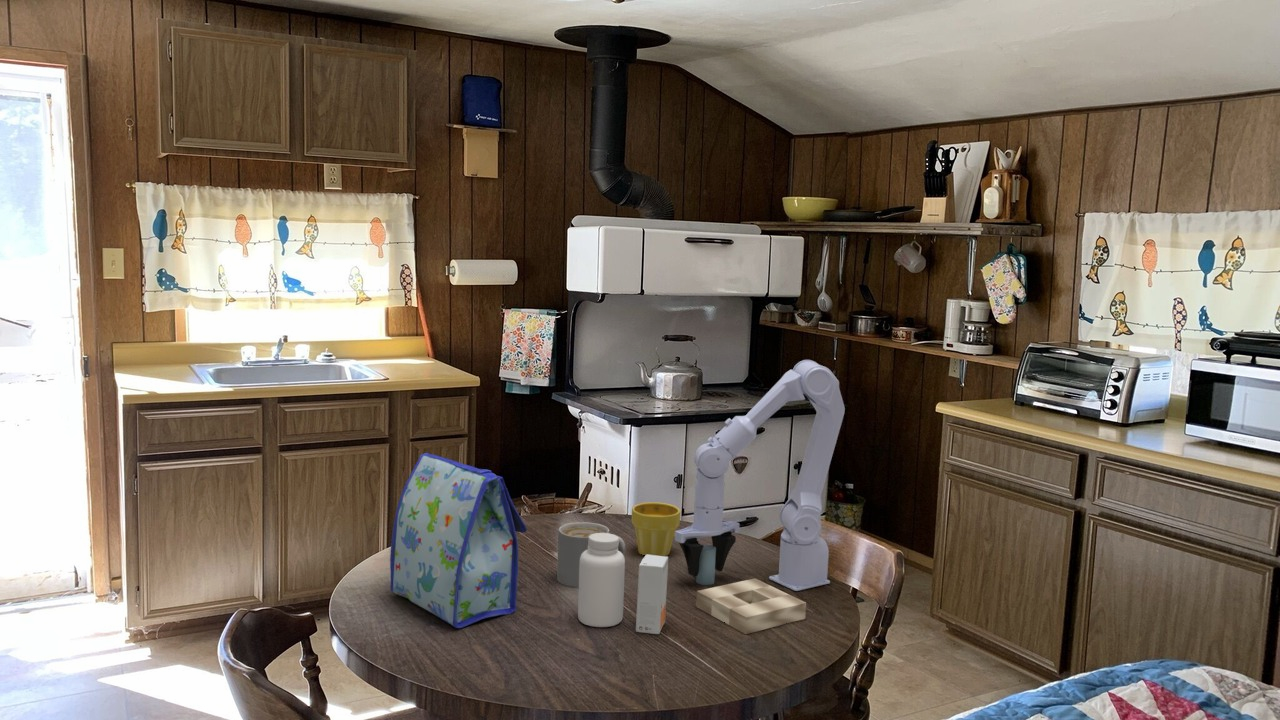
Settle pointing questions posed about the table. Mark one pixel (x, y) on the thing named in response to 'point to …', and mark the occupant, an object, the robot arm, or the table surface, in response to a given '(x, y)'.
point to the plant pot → (655, 527)
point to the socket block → (750, 605)
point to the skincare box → (651, 594)
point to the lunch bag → (456, 542)
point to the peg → (707, 565)
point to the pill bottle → (601, 582)
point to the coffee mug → (576, 549)
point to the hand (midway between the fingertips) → (705, 572)
